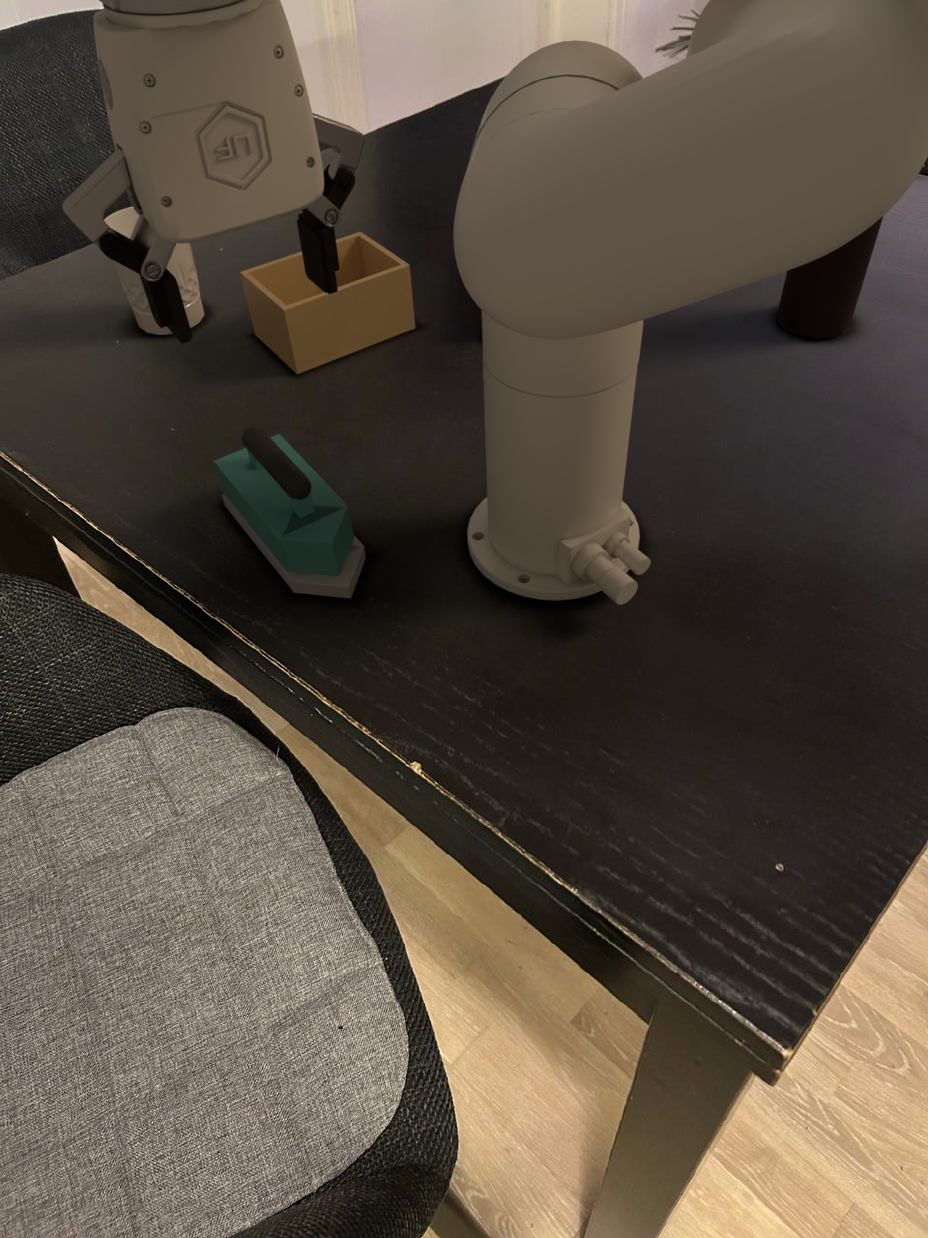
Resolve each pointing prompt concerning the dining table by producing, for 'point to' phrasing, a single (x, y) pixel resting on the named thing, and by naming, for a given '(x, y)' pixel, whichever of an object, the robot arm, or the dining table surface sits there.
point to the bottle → (827, 289)
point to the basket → (330, 304)
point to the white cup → (178, 266)
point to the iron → (291, 515)
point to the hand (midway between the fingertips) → (252, 308)
